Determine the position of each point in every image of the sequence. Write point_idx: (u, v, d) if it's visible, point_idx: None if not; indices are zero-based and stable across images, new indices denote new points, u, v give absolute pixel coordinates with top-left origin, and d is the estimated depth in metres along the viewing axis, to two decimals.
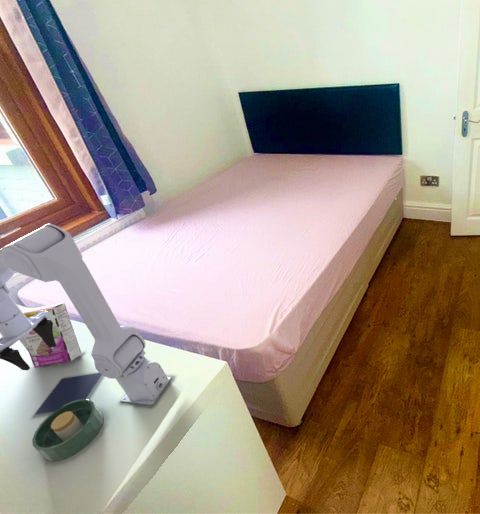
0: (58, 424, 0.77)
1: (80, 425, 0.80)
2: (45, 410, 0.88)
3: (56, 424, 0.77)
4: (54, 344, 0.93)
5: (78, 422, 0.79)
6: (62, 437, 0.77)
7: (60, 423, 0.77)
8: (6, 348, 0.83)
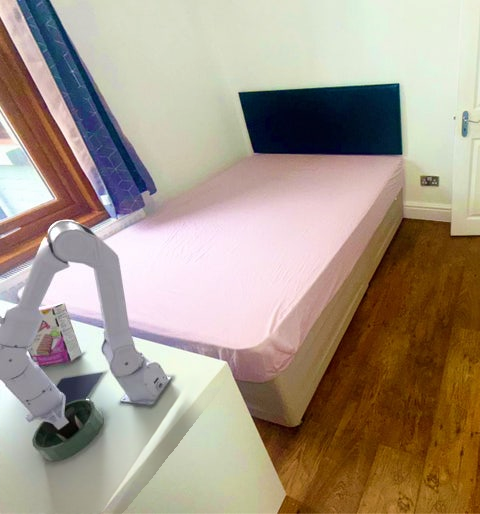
0: None
1: (80, 425, 0.80)
2: None
3: None
4: None
5: (78, 422, 0.79)
6: (62, 437, 0.77)
7: None
8: None
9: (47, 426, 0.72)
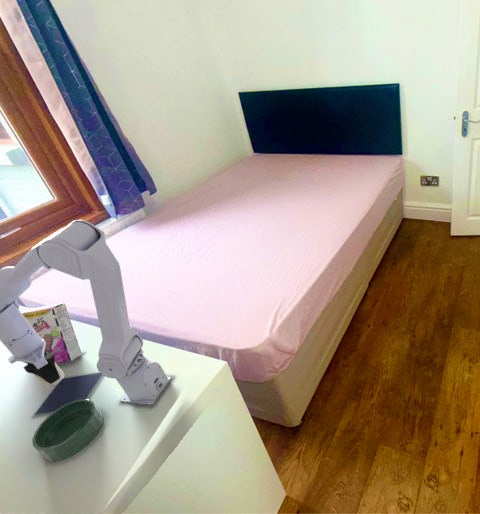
0: None
1: (60, 371, 0.85)
2: (45, 410, 0.88)
3: None
4: None
5: (58, 368, 0.85)
6: (42, 381, 0.83)
7: None
8: None
9: (28, 367, 0.78)
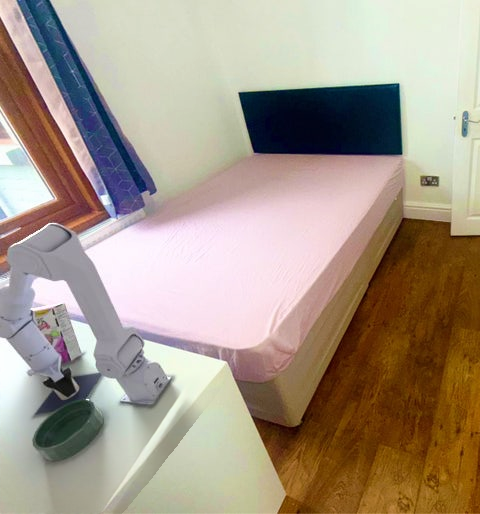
0: None
1: (75, 385, 0.91)
2: (45, 410, 0.88)
3: None
4: None
5: (73, 382, 0.91)
6: (59, 394, 0.89)
7: None
8: None
9: (47, 382, 0.83)
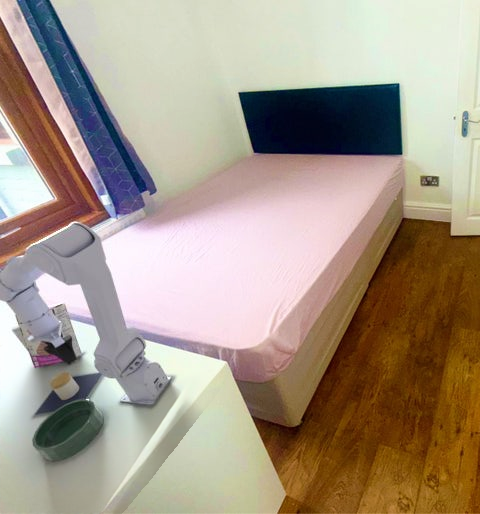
0: (56, 382, 0.88)
1: (75, 385, 0.91)
2: (45, 410, 0.88)
3: (54, 382, 0.88)
4: None
5: (73, 382, 0.91)
6: (59, 394, 0.89)
7: (58, 382, 0.88)
8: None
9: (47, 348, 0.82)
